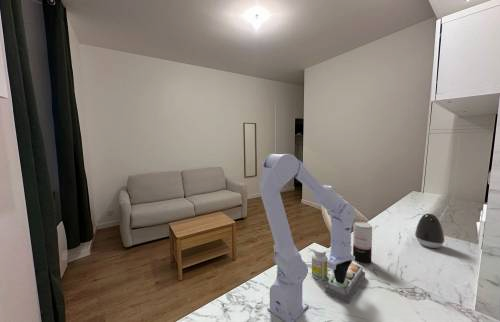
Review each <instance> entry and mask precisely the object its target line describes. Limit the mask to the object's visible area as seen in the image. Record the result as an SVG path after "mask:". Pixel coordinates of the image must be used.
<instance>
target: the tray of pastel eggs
mask: <svg viewBox="0 0 500 322" xmlns="http://www.w3.org/2000/svg"><path fill="white" fill-rule="evenodd" d="M351 264H353V265H355V266H357V267H358V272H357V273H356V272H353V278H352V279H347V278H345V281H346V282H347V287H346V288H345V289H344V288H342V287H340V286H337V285H335V284H333V279H334V278H335V275H334V274H333V275H332V276H331V278H330V279H328V281H327V284H326V285H324V293H325V294H326V295H327V294H328V295H329V296H331V297H333V298H335V299H338V300H339V301H341V302H343V303H345V304H347V305H349V303H350V302H351V301H352V299H353V297H354V296H355V294H356V293H357V291H358V290H359V288H360V286H361V285H362V283H363V282H364V280H365V278H366V272H365V271H364V270H363V269H364V267H363V266H361V265H358V264H355V263H353V262H352V263H351Z"/></svg>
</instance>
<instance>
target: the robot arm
mask: <svg viewBox="0 0 500 322" xmlns="http://www.w3.org/2000/svg"><path fill="white" fill-rule="evenodd" d="M261 169H262V170H261V175H260V178H259V185H258V190H259V193H260V196H261V197H260V198H261V200H262V204H263V208H264V210H265V214H266V218H267V221H268V225H269V228H270V232H271V235H272V239H273V242H274V245H273V246H272V247H273V262H274V264H275V265H276V278H275V281H274V282H273V283H272V284H271V286H270V288H269V305H268V306H267V310H268V311H270V312H271V313H273V315H276V316H277V317H278V318H280V319H282V320H283V321H284V322H295V321H296V320H297V319H298V318H299V316H300V315H302V313H303V312H304V311H305V310H306V309H307V307H308V306H309V302H307V301H305V300H303V282H304V280H305V279H306V278H307V276H308V274H309V273H308V272H309V269H308V265H307V263H306V262H305V261H304V260H303V259H302V255H301V254H300V251H299V250H298V248H297V246H296V245H295V242H294V237H293V235H292V231H291V227H290V224H289V221H288V217H287V213H286V210H285V207H284V202H283V199H282V195H281V191H282V189H283V187H284V186H285V185H286V184H287V183H289V182H290V181H291V179H293V178H294V179H296V180H297V181H298V182H300V183H301V184H303V185H304V186H305V187H306V188H307V189H308V190H310V191H311V192H312V193H313V198H314V200H315V201H316V202H317V203H318V204H319V205H320V206H322V207H323V208H324V209H325V210H326V212H327V215H328V216H330V250H329V258H328V266H327V269H331V270H333V275H335V279H336V281H337V282H339V283H341V284H343V283H344V281H345V278H346V274H347V271H348V268H349V266H350V264H351V263H353V262H354V261H355V256H353V254H352V251H353V250H352V249H353V245H352V228H353V227H354V221H355V219H356V216H357V211H356V208H355V207H354V205H352V204H351V203H350V202H346V201H345V200H344V197H343V196H341V195H339V194H338V193H337V192H336V191H335V188H334V187H333V186H332V185H328V184H324V185H323V184H322V183H321V182H320V181H319V180H318V179H317V178H316V177H315V175H313V174H312V172H311V171H310V170H308V168H306V166H305V165H304V163H303V162H302V161H301V160H300V159H298V158H297V157H296V156H295V155H294V154H291V153H284V154H282V153H280V154H278V153H270V154H269V155H268V156H267V157H266V158H265V159H264V161H263V163H262V164H261Z"/></svg>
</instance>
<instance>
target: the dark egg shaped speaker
mask: <svg viewBox="0 0 500 322" xmlns="http://www.w3.org/2000/svg"><path fill="white" fill-rule="evenodd" d="M444 234H445V233H444V229H443V225H442V223H441V222H440V220H439V218H438V217H437V216H436V215H435V214H432V213H424V214H423V215H422V216H421V217H420V218H419V221H418V223H417V226H416V228H415V234H414V235H415V238H416V240H417V242H418V243H419V244H420V245H421V246H423V247H426V248H429V249H437V248H441V247H442V245H444V242H445V235H444Z"/></svg>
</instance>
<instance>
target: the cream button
mask: <svg viewBox="0 0 500 322" xmlns="http://www.w3.org/2000/svg"><path fill="white" fill-rule="evenodd" d="M346 278H347V279H352V278H353V271H352V270H351V269H349V268H348V271H347V274H346Z"/></svg>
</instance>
